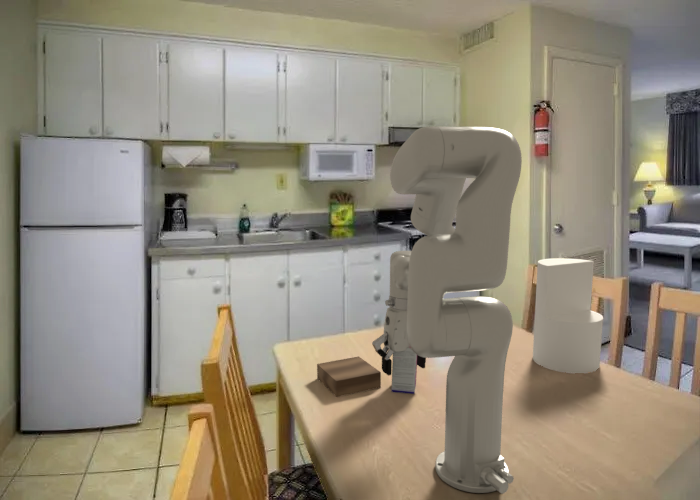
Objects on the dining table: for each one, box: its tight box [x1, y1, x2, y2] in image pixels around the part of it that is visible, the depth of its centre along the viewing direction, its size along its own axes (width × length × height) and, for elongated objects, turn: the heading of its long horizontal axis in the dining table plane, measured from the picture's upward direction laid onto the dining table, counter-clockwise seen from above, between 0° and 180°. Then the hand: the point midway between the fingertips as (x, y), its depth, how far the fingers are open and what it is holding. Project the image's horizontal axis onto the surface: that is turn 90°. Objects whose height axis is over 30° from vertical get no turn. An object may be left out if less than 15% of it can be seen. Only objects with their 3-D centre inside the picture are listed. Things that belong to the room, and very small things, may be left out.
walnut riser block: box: [316, 356, 382, 398], centre depth 125 cm, size 12×12×4 cm
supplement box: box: [390, 347, 418, 395], centre depth 122 cm, size 6×6×12 cm
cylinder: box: [532, 257, 604, 374], centre depth 137 cm, size 17×17×28 cm
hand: (403, 369), depth 122 cm, fingers open, 9 cm apart
